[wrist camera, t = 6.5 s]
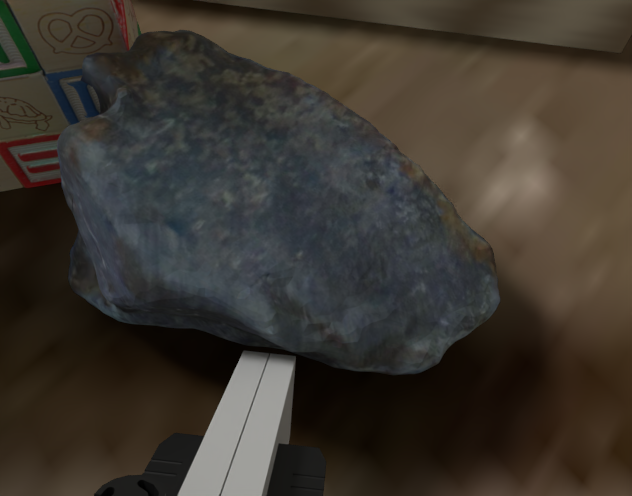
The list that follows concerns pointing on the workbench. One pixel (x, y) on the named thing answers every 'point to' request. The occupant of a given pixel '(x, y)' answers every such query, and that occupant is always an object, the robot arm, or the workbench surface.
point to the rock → (262, 214)
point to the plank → (483, 17)
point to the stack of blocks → (50, 77)
